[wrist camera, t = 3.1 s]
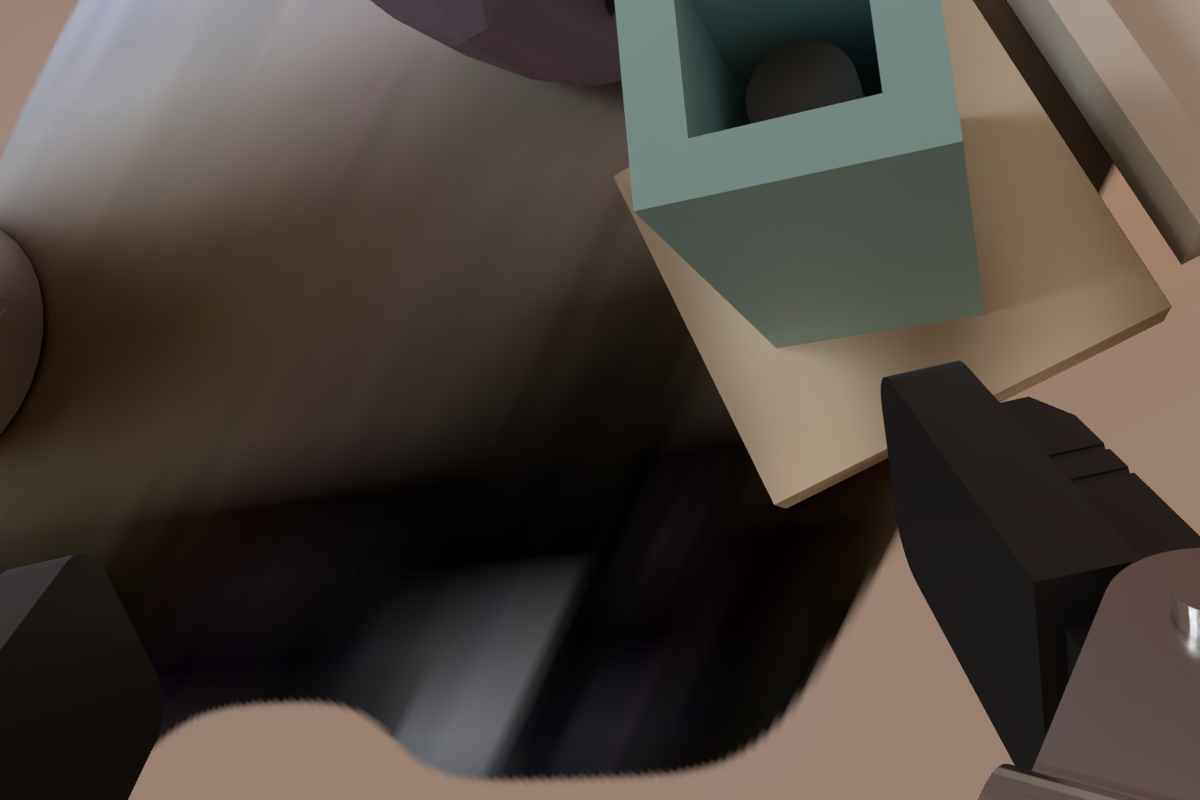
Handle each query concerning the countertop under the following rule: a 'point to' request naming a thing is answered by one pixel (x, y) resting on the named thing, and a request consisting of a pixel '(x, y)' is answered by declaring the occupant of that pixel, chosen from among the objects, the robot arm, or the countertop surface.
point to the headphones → (524, 35)
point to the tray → (1134, 95)
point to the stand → (984, 343)
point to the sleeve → (804, 164)
